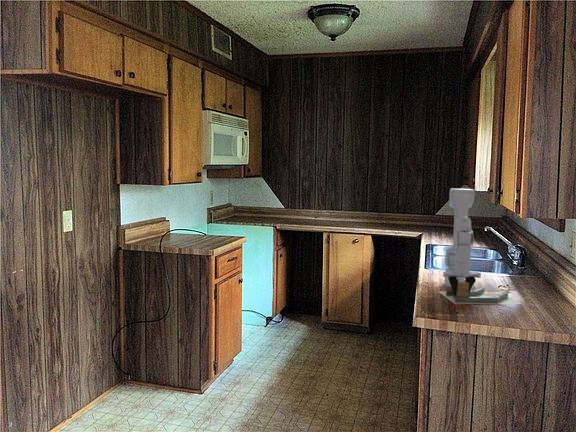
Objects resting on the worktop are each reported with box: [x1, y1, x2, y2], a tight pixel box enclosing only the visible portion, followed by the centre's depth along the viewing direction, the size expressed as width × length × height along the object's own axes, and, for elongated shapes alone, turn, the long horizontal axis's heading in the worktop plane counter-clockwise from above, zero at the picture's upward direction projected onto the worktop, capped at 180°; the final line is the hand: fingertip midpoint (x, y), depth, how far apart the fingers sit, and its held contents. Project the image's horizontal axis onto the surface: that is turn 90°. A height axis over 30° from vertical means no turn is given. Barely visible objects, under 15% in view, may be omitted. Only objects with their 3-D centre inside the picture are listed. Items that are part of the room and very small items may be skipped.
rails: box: [445, 287, 509, 304], centre depth 203 cm, size 16×25×2 cm, turn 92°
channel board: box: [438, 290, 523, 307], centre depth 203 cm, size 18×27×1 cm, turn 92°
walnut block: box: [453, 280, 469, 299], centre depth 199 cm, size 4×4×7 cm
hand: (460, 295), depth 200 cm, fingers closed on walnut block, 4 cm apart
